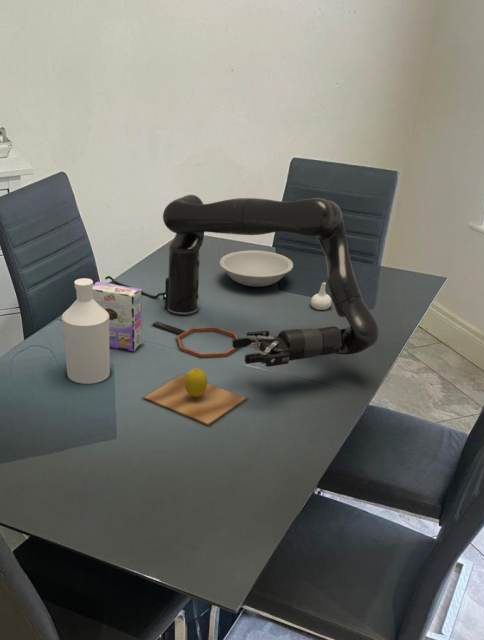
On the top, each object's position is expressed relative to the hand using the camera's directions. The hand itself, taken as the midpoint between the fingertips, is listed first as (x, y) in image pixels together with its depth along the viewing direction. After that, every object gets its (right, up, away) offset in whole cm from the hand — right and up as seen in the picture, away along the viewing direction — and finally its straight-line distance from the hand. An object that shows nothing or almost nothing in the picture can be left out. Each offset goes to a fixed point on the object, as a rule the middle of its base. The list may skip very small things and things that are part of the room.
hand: (239, 351), depth 181 cm
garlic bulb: (+32, +25, +50) cm, 64 cm away
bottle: (-38, -3, +16) cm, 41 cm away
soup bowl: (+14, +37, +66) cm, 77 cm away
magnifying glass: (-9, +11, +33) cm, 36 cm away
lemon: (-10, -11, +5) cm, 16 cm away
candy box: (-31, +8, +30) cm, 44 cm away
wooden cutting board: (-11, -11, +5) cm, 16 cm away
